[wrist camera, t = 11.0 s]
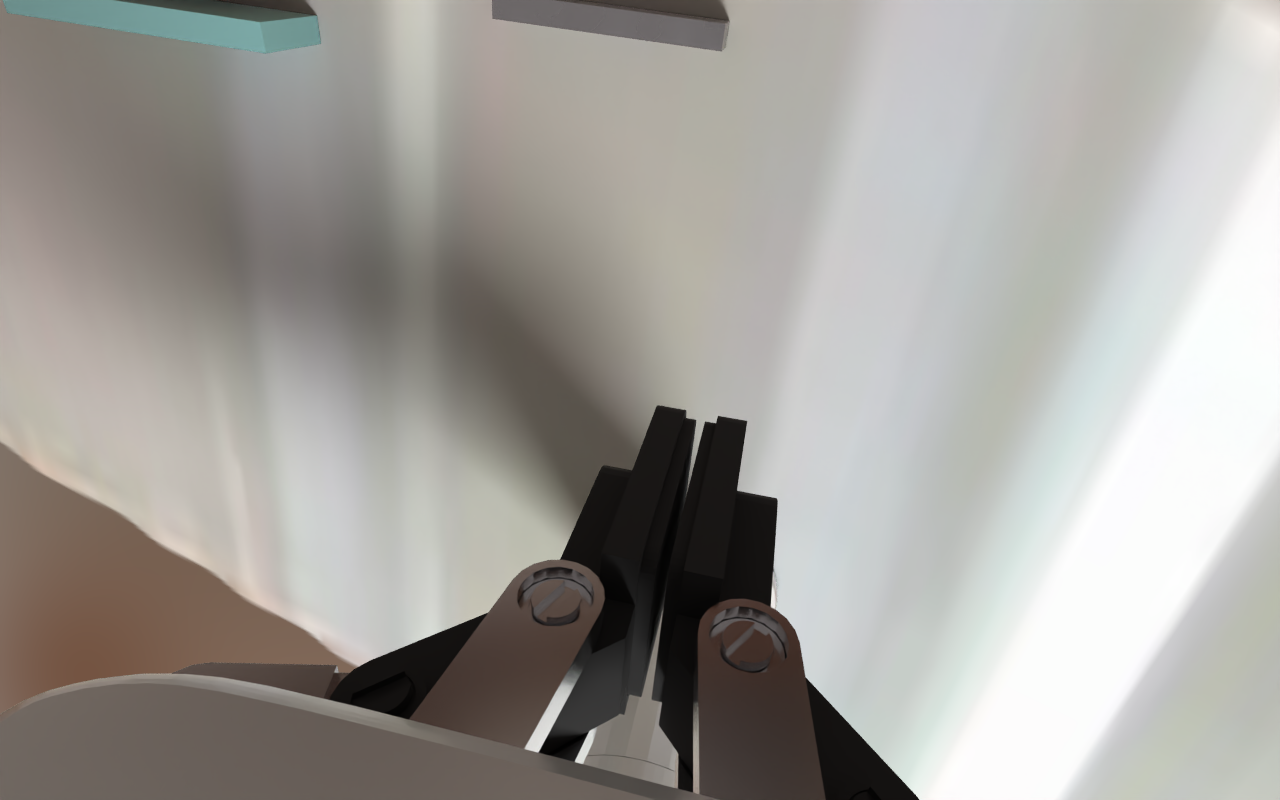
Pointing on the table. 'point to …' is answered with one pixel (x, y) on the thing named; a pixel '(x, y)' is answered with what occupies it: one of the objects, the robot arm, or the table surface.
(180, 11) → the teal u-shaped frame
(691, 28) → the launcher track
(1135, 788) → the table surface
